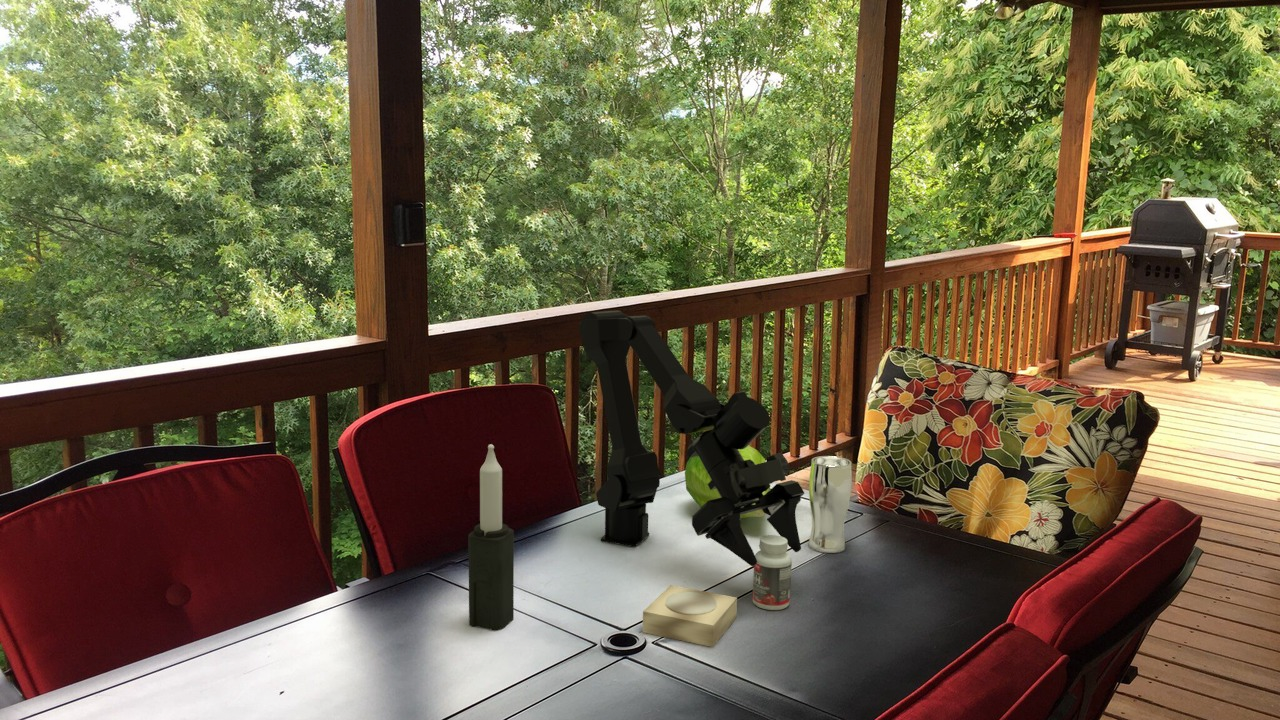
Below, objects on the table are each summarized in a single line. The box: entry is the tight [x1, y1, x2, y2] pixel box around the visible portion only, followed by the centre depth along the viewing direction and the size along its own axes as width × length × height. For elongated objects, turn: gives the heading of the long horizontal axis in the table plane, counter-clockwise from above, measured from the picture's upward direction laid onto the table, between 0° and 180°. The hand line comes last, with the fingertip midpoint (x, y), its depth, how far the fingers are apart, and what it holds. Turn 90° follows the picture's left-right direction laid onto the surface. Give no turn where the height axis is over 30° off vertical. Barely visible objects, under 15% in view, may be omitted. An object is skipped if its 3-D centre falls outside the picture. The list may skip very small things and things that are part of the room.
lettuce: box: [684, 445, 771, 519], centre depth 181 cm, size 15×22×15 cm
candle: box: [467, 443, 515, 631], centre depth 135 cm, size 5×5×25 cm
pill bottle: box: [752, 534, 793, 611], centre depth 144 cm, size 5×5×10 cm
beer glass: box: [808, 455, 853, 554], centre depth 167 cm, size 7×7×15 cm
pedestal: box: [642, 584, 738, 648], centre depth 137 cm, size 10×10×3 cm
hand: (777, 557), depth 143 cm, fingers open, 9 cm apart
